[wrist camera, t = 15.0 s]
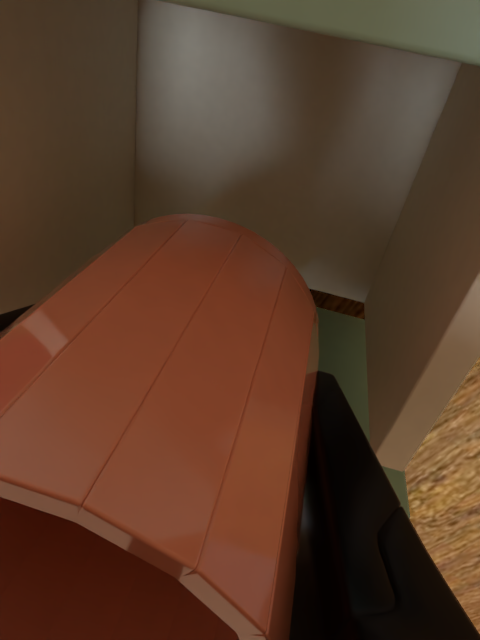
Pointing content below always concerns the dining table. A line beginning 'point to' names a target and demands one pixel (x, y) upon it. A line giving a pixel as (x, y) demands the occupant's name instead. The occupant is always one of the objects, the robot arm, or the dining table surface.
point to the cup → (158, 441)
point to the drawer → (257, 177)
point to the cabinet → (371, 22)
